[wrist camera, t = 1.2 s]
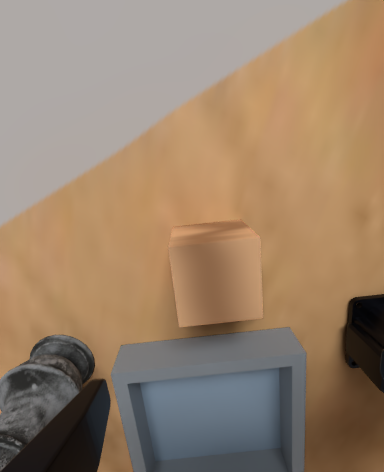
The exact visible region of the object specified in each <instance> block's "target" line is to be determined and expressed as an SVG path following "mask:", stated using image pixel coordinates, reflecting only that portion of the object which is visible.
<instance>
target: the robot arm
mask: <svg viewBox="0 0 384 472" xmlns="http://www.w3.org/2000/svg"><path fill="white" fill-rule="evenodd" d="M357 303H359V304H358V305H356V304H357ZM346 363H347V364H348V365H349V367H351V368H361V369H362V370H363V371H364V373H365V374H366V375H367V376H368V377H369V378H370V379H371V381H372V382H373V383H374V384H375V385H376V386H377V387H378V389H379V390H381V391H382V392H383V393H384V294H381V295H372V296H363V297H355V298H353V299H351V301H350V303H349V318H348V325H347V335H346ZM109 410H110V395H109V391H108V387H107V383H106V381H105V379H94V380H91V381H90V382H89V383H88V384H87V385H86V386H85V387H84V388H83V389H82V390H81V391H80V392H79V393H78V394H77V395H76V396H75V397H74V398H73V399H72V400H71V401H70V402H69V403H68V404H67V405H66V406H65V407H64V408H63V409H62V410H61V411H60V412H59V413H58V414H57V415H56V416H55V417H54V418H53V419H52V420H51V421H50V422H49V423H48V424H47V425H46V426H45V427H44V428H43V429H42V430H41V431H40V432H39V433H38V434H37V435H36V436H35V437H34V438H33V439H32V440H31V441H30V442H29V443H28V444H27V445H26V446H25V447H24V448H23V449H22V450H21V451H20V452H19V453H18V454H17V455H16V456H15V457H14V458H13V459H12V460H11V461H10V462H9V463H8V464H7V465H6V466H5V467H4V468H3V469H2V470H1V471H0V472H97V470H98V466H99V462H100V457H101V452H102V447H103V442H104V436H105V431H106V426H107V420H108V415H109Z"/></svg>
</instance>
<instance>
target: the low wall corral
mask: <svg viewBox="0 0 384 472" xmlns="http://www.w3.org/2000/svg"><path fill="white" fill-rule="evenodd" d="M111 377H112V381H113V386H114V390H115V394H116V398H117V403H118V407H119V411H120V415H121V420H122V424H123V428H124V432H125V437H126V441H127V445H128V449H129V454H130V458H131V462H132V466H133V471H134V472H304V453H305V398H306V352H305V350H304V349H303V347H302V346H301V344H300V343H299V341H298V340H297V338H296V337H295V335H294V333H293V332H292V330H291V329H290V327H286V328H277V329H268V330H258V331H249V332H240V333H230V334H221V335H212V336H203V337H193V338H184V339H175V340H165V341H156V342H147V343H137V344H128V345H121V347H120V350H119V353H118V355H117V358H116V361H115V364H114V367H113V369H112V372H111Z"/></svg>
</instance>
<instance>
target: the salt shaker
mask: <svg viewBox="0 0 384 472" xmlns="http://www.w3.org/2000/svg"><path fill="white" fill-rule="evenodd" d="M94 366H95V363H94V357H93V355H92V352H91V351H90V349H89V348H88V347H87V346H86V345H85V344H84V343H82V342H81V341H80V340H78V339H76V338H73V337H70V336H66V335H52V336H48V337H45V338H44V339H42V340H40V341H39V342H38V343H37V344H36V345H35V346H34V347H33V349H32V351H31V353H30V360H28V361H26V362H24V363H22V364H20V365H19V366H17V367H15V368H13V369H12V370H10V371H8V372H7V373H6V374H5V375H4V376H3V377H2V378H1V379H0V409H1V411H2V413H1V414H0V471H1V470H2V469H3V468H4V467H5V466H6V465H7V464H8V463H9V462H10V461H11V460H12V459H13V458H14V457H15V456H16V455H17V454H18V453H19V452H20V451H21V450H22V449H23V448H24V447H25V446H26V445H27V444H28V443H29V442H30V441H31V440H32V439H33V438H34V437H35V436H36V435H37V434H38V433H39V432H40V431H41V430H42V429H43V428H44V427H45V426H46V425H47V424H48V423H49V422H50V421H51V420H52V419H53V418H54V417H55V416H56V415H57V414H58V413H59V412H60V411H61V410H62V409H63V408H64V407H65V406H66V405H67V404H68V403H69V402H70V401H71V400H72V399H73V398H74V397H75V396H76V395H77V394H78V393H79V392H80V391H81V390H82V384H83V383H85V382H86V381H87V380H88V379H89V378H90V376H91V375H92V373H93V370H94Z"/></svg>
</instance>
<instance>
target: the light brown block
mask: <svg viewBox="0 0 384 472" xmlns="http://www.w3.org/2000/svg"><path fill="white" fill-rule="evenodd" d="M168 251H169V258H170V265H171V272H172V279H173V287H174V294H175V301H176V308H177V315H178V323H179V327H188V326H197V325H207V324H216V323H225V322H235V321H244V320H253V319H263V299H262V271H261V243H260V237H259V236H258V235H257V234H256V233H255V232H254V231H253V230H252V229H251V228H250V227H249V226H247V225H246V224H245V223H244V222H243V221H242V220H241V219H240V220H231V221H222V222H213V223H204V224H195V225H186V226H177V227H173V228H172V232H171V237H170V241H169V246H168Z"/></svg>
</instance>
